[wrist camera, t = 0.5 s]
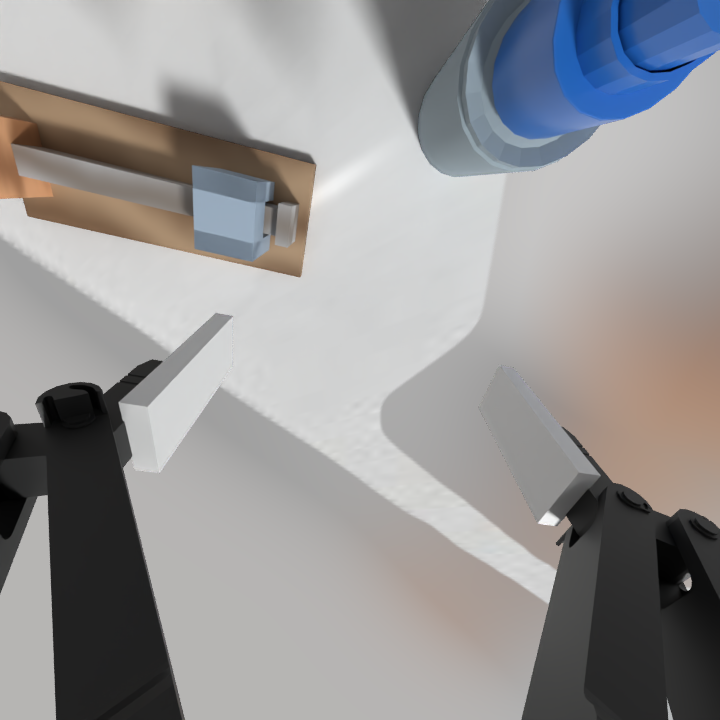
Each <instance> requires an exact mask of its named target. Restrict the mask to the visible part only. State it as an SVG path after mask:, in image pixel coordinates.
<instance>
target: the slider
mask: <svg viewBox="0 0 720 720" xmlns="http://www.w3.org/2000/svg"><path fill="white" fill-rule="evenodd" d="M192 181H193V214H194V247H195V249H197V250H202V251H206V252H211V253H215V254H219V255H224V256H228V257H233V258H237V259H241V260H246V261H250V262H253V261H254V260H256V259H257V258H258V257H260V256H261V255H263V254H264V253H265V252H267V251H268V250H269V247H270V235H269V234H264V233H263V227H264V213H265V202H267V201H273V199H274V187H275V182H272V181H268V180H264V179H260V178H256V177H252V176H249V175H245V174H241V173H237V172H233V171H229V170H225V169H220V168H212V167H204V166H195V165H192Z"/></svg>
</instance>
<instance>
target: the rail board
mask: <svg viewBox="0 0 720 720" xmlns="http://www.w3.org/2000/svg"><path fill="white" fill-rule="evenodd" d="M192 165H195V166H204V167H212V168H220V169H225V170H229V171H233V172H237V173H241V174H245V175H249V176H252V177H256V178H260V179H264V180H268V181H272V182H275V187H274V199H273V201H267V202H265V213H264V227H263V233H264V234H269V235H270V247H269V250H268V251H267V252H265V253H264V254H263V255H261V256H260V257H258V258H257V259H256V260H254V261H253V262H250V261H246V260H241V259H237V258H233V257H228V256H224V255H219V254H215V253H211V252H206V251H202V250H197V249H195V247H194V214H193V181H192ZM315 171H316V165H315V164H311V163H307V162H303V161H300V160H296V159H292V158H288V157H284V156H281V155H277V154H273V153H269V152H266V151H262V150H258V149H254V148H251V147H247V146H243V145H239V144H235V143H232V142H228V141H224V140H220V139H217V138H213V137H209V136H205V135H202V134H198V133H194V132H190V131H186V130H183V129H179V128H175V127H171V126H168V125H164V124H160V123H156V122H153V121H149V120H145V119H141V118H138V117H134V116H130V115H126V114H122V113H119V112H115V111H111V110H107V109H104V108H100V107H96V106H92V105H89V104H85V103H81V102H77V101H73V100H70V99H66V98H62V97H58V96H55V95H51V94H47V93H43V92H40V91H36V90H32V89H28V88H24V87H21V86H17V85H13V84H9V83H6V82H2V81H0V199H6V198H23V201H24V204H25V208H26V212H27V216H29V217H34V218H38V219H42V220H47V221H51V222H56V223H60V224H65V225H69V226H74V227H78V228H82V229H87V230H91V231H96V232H100V233H105V234H109V235H114V236H118V237H123V238H127V239H131V240H136V241H140V242H145V243H149V244H154V245H158V246H163V247H167V248H172V249H176V250H180V251H185V252H189V253H194V254H198V255H203V256H207V257H212V258H216V259H221V260H225V261H229V262H234V263H238V264H243V265H247V266H252V267H256V268H261V269H265V270H270V271H274V272H278V273H283V274H287V275H292V276H296V277H300V276H301V274H302V267H303V259H304V252H305V244H306V237H307V230H308V222H309V215H310V208H311V200H312V193H313V186H314V178H315Z"/></svg>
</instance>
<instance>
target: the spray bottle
mask: <svg viewBox="0 0 720 720" xmlns="http://www.w3.org/2000/svg"><path fill="white" fill-rule="evenodd" d="M718 50H720V0H489V1H488V2H487V4H486V5H485V7H484V8H483V10H482V11H481V13H480V14H479V15H478V17H477V18H476V20H475V21H474V23H473V24H472V25H471V27H470V28H469V30H468V31H467V33H466V34H465V35H464V37H463V38H462V40H461V41H460V43H459V44H458V46H457V47H456V48H455V50H454V51H453V53H452V54H451V56H450V57H449V58H448V60H447V61H446V63H445V64H444V66H443V67H442V68H441V70H440V71H439V73H438V74H437V76H436V77H435V79H434V80H433V82H432V84H431V85H430V87H429V89H428V90H427V92H426V94H425V96H424V98H423V102H422V105H421V109H420V112H419V120H418V136H419V140H420V144H421V148H422V151H423V153H424V155H425V156H426V158H427V160H428V161H429V163H430V164H431V165H432V166H433V167H435V168H436V169H437V170H438V171H439V172H441V173H443V174H446V175H449V176H452V177H462V176H475V175H488V174H500V173H512V172H524V171H535V170H537V169H540V168H542V167H545V166H547V165H550V164H552V163H555V162H557V161H559V160H560V159H562V158H563V157H565V156H567V155H568V154H569V153H571V152H572V151H573V150H575V149H576V148H578V147H579V146H580V145H581V144H582V143H584V142H585V141H587V140H588V139H589V138H590V137H591V136H592V135H593V133H594V132H595V131H596V129H597V128H598V127H599V126H600V125H602V124H606V123H610V122H614V121H618V120H622V119H625V118H627V117H630V116H633V115H635V114H637V113H640V112H642V111H644V110H647V109H649V108H651V107H652V106H654V105H655V104H656V103H657V102H659V101H660V100H661V99H663V98H664V97H666V96H667V95H668V94H669V93H671V92H672V91H673V90H675V89H676V88H677V87H678V86H679V85H680V83H681V82H682V81H683V80H684V79H685V78H686V77H687V76H688V74H689V73H690V72H691V71H692V70H693V69H694V68H696V67H697V66H698V65H700V64H701V63H702V62H703V61H705V60H706V59H708V58H709V57H710V56H711V55H713V54H714V53H715V52H716V51H718Z"/></svg>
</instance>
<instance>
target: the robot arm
mask: <svg viewBox="0 0 720 720" xmlns="http://www.w3.org/2000/svg"><path fill="white" fill-rule="evenodd" d="M232 367H233V316H229V315H224V314H218V313H216V314H215V315H213V316H212V317H211V318H210V319H209V320H208V321H207V322H206V323H205V324H204V325H202V326H201V327H200V328H199V329H198V330H197V331H196V332H195V333H194V334H193V335H192V336H190V337H189V338H188V339H187V340H186V341H185V342H184V343H183V344H182V345H181V346H180V347H178V348H177V349H176V350H175V351H174V352H173V353H172V354H171V355H170V356H169V357H168V358H166V359H165V360H164V361H158V360H150V361H148V362H145V363H143V364H141V365H138V366H137V367H136V368H135V369H133V370H132V371H131V372H130V373H128V376H125V377H124V378H123V379H121V380H120V382H119V383H116V384H115V385H114V386H113V387H112V388H111V389H109V390H108V391H107V392H106V393H104V394H103V391H102V389H101V388H100V387H99V386H97V385H95V384H92V383H85V382H77V383H68V384H65V385H61V386H57V387H55V388H52V389H50V390H48V391H46V392H44V393H43V394H42V395H41V396H39V397H38V399H37V401H36V403H35V404H36V407H37V409H38V412H39V414H40V417H41V419H42V422H43V423H31V424H15V425H14V424H13V421H12V419H11V417H10V416H9V415H8V414H7V413H4V412H1V411H0V593H1V590H2V588H3V585H4V583H5V580H6V577H7V575H8V572H9V570H10V567H11V564H12V562H13V558H14V557H15V554H16V551H17V549H18V546H19V543H20V541H21V538H22V536H23V533H24V530H25V528H26V525H27V523H28V520H29V517H30V515H31V512H32V509H33V507H34V504H35V502H36V499H37V496H42V495H48V515H49V542H50V568H51V595H52V619H53V621H52V622H53V647H54V673H55V699H56V700H55V701H56V720H185V718H184V714H183V710H182V706H181V702H180V698H179V694H178V690H177V686H176V682H175V678H174V674H173V670H172V665H171V662H170V658H169V653H168V650H167V645H166V641H165V637H164V633H163V629H162V625H161V621H160V617H159V613H158V609H157V605H156V601H155V597H154V592H153V588H152V584H151V580H150V576H149V572H148V568H147V564H146V560H145V556H144V552H143V548H142V544H141V540H140V536H139V532H138V528H137V523H136V519H135V516H134V512H133V507H132V504H131V499H130V495H129V491H128V487H127V483H126V479H125V475H124V471H123V467H124V466H125V465H126V463H127V462H128V461H129V460H130V459H131V457H132V462H133V466H134V470H140V471H147V472H155V473H160V471H161V470H162V469H163V467H164V466H165V464H166V463H167V461H168V460H169V459H170V457H171V456H172V454H173V453H174V451H175V450H176V448H177V447H178V445H179V444H180V443H181V441H182V440H183V438H184V437H185V435H186V434H187V432H188V431H189V429H190V428H191V426H192V425H193V424H194V422H195V421H196V419H197V418H198V416H199V415H200V414H201V412H202V411H203V409H204V407H205V406H206V405H207V403H208V402H209V400H210V399H211V398H212V396H213V395H214V393H215V392H216V390H217V389H218V387H219V386H220V385H221V383H222V382H223V380H224V379H225V377H226V376H227V374H228V373H229V372H230V370H231V369H232ZM478 408H479V410H480V412H481V414H482V416H483V418H484V420H485V422H486V424H487V425H488V427H489V429H490V431H491V433H492V435H493V437H494V439H495V441H496V443H497V445H498V447H499V449H500V451H501V453H502V455H503V457H504V459H505V461H506V462H507V465H508V466H509V469H510V471H511V473H512V474H513V477H514V478H515V480H516V482H517V484H518V486H519V488H520V490H521V492H522V494H523V496H524V498H525V500H526V502H527V504H528V506H529V508H530V510H531V512H532V514H533V515H534V518H535V520H536V522H537V523H538V524H545V525H552V526H558V524H559V523H560V522H561V521H562V520H563V519H564V518H565V516H567V518H568V519H569V521H570V522H571V524H572V526H571V527H570V528H569V529H568V530H567V531H566V532H565V533H564V535H562V537H561V538H560V539H559V540H558V541H557V542H556V545H558V546H559V545H560V544H561V543H564V544H563V548H562V553H561V557H560V561H559V565H558V569H557V573H556V577H555V582H554V586H553V590H552V594H551V598H550V603H549V607H548V611H547V615H546V620H545V624H544V628H543V632H542V636H541V640H540V644H539V649H538V653H537V657H536V661H535V665H534V669H533V674H532V678H531V682H530V686H529V690H528V695H527V699H526V703H525V707H524V711H523V715H522V720H668V710H667V699H668V703H669V706H670V710H671V713H672V717H673V720H720V529H719V528H718V527H717V526H716V525H715V524H714V523H713V522H711V521H709V520H708V519H707V518H705V517H703V516H701V515H699V514H697V513H695V512H692V511H689V510H686V509H680V510H679V511H677V512H676V513H675V514H674V515H673V516H672V517H669V516H666V515H664V514H661V513H659V512H656V511H653V510H652V508H651V506H650V505H649V504H648V503H647V501H646V500H644V499H643V498H642V497H641V496H640V495H639V494H637V493H636V492H634V491H633V490H631V489H630V488H628V487H625V486H623V485H621V484H616V483H613V482H612V481H611V480H610V479H609V477H608V476H607V475H606V474H605V473H604V471H603V470H602V469H601V468H600V467H599V465H598V464H597V463H596V462H595V460H594V459H593V458H592V457H591V456H589V453H588V452H587V451H586V450H585V448H582V445H581V444H580V443H579V441H578V440H577V439H576V438H575V436H573V435H572V434H571V433H570V432H569V431H567V430H566V429H565V428H564V427H561V426H560V425H559V424H558V422H557V421H556V420H555V418H554V417H553V416H552V415H551V413H550V412H549V411H548V410H547V408H546V407H545V406H544V405H543V403H542V402H541V401H540V400H539V399H538V397H537V396H536V395H535V394H534V392H533V391H532V390H531V389H530V387H529V386H528V385H527V384H526V382H524V380H523V379H522V377H521V376H520V375H519V374H518V373H517V371H516V370H515V369H514V368H513V367H508V366H502V365H499V367H498V369H497V371H496V372H495V374H494V376H493V379H492V381H491V383H490V385H489V387H488V389H487V391H486V393H485V395H484V397H483V399H482V401H481V403H480V405H479V407H478ZM689 577H691V579H692V587H691V589H690V590H689V591H687V589H686V587H685V585H684V583H683V582H684V581H685V580H687V579H688V578H689Z"/></svg>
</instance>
